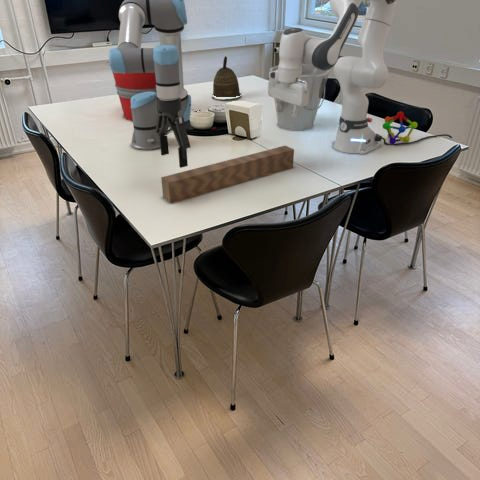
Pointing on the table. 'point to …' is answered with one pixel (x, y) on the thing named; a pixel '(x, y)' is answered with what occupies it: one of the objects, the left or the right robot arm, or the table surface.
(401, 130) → the educational toy
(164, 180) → the beam
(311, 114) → the bucket
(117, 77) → the bucket
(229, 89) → the bell
